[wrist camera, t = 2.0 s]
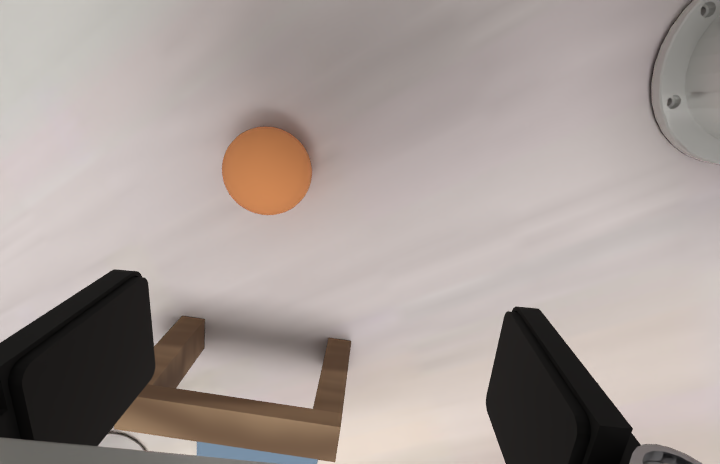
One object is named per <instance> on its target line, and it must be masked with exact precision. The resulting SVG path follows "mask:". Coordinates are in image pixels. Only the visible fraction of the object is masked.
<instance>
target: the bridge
mask: <svg viewBox="0 0 720 464" xmlns="http://www.w3.org/2000/svg"><path fill="white" fill-rule="evenodd" d="M204 333H205V319H200V318H193V317H186V316H182V317H181V318H180V319H179V320H178V321H177V322H176V323H175V324H174V325H173V327H172V328H171V329H170V330H169V331H168V332H167V333H166V334H165V335H164V336H163V337H162V339H161V340H160V341H159V342H158V343H157V344H156V345H155V346H154V354H155V372H154V375H153V377H152V379H151V380H150V382H149V383H148V384H147V385H146V386H145V388H144V389H143V390H142V391H141V393H140V394H139V395H138V396H137V398H136V399H135V400H134V401H133V403H132V404H131V405H130V406H129V408H128V409H127V410H126V411H125V413H124V414H123V415H122V416H121V418H120V419H119V420H118V421H117V423H116V424H115V425H114V429H118V430H124V431H131V432H138V433H144V434H151V435H158V436H164V437H171V438H177V439H184V440H191V441H197V442H204V443H211V444H217V445H224V446H231V447H237V448H244V449H251V450H257V451H264V452H271V453H277V454H284V455H291V456H297V457H304V458H311V459H317V460H324V461H331V462H335V459H336V453H337V447H338V440H339V434H340V427H341V419H342V411H343V403H344V395H345V387H346V379H347V371H348V363H349V355H350V347H351V341H347V340H340V339H334V338H328V343H327V347H326V352H325V357H324V361H323V366H322V370H321V375H320V379H319V384H318V388H317V393H316V398H315V402H314V407H313V409H309V408H302V407H296V406H289V405H282V404H276V403H269V402H262V401H256V400H249V399H242V398H236V397H229V396H222V395H216V394H209V393H202V392H196V391H189V390H182V389H176V387H177V386H178V385H179V383H180V382H181V380H182V379H183V377H184V376H185V375H186V373H187V372H188V370H189V369H190V368H191V366H192V365H193V363H194V362H195V361H196V359H197V358H198V356H199V355H200V353H201V352H202V351H203V349H204Z"/></svg>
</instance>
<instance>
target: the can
mask: <svg viewBox="0 0 720 464" xmlns="http://www.w3.org/2000/svg"><path fill="white" fill-rule="evenodd" d="M98 446H100V447H111V448H122V449H133V450H143V451H145V450H144V448H143V447H142V446H141V445H140V444H139V443H138V442H137V441H135V440H134V439H132V438H130V437H128V436H125V435H122V434H116V433H109V434H107V435H106V436H105V438H104V439H103V440H102V441H101V443H100V444H99V445H98Z"/></svg>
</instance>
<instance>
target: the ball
mask: <svg viewBox="0 0 720 464" xmlns="http://www.w3.org/2000/svg"><path fill="white" fill-rule="evenodd" d="M222 175H223V180H224V184H225V186H226V188H227V190H228V192H229V194H230V195H231V197H232V198H233V199H234V200H235V201H236V202H237V203H238V204H239V205H240V206H242V207H243V208H245V209H247V210H249V211H251V212H254V213H257V214H262V215H275V214H280V213H283V212H286V211H288V210H290V209H292V208H293V207H295V206H296V205H297V204H298V203H299V202H300V201H301V200H302V199H303V198H304V196H305V195H306V193H307V191H308V189H309V186H310V183H311V177H312V169H311V162H310V159H309V156H308V154H307V152H306V150H305V148H304V147H303V145H302V144H301V143H300V142H299V141H298V140H297V139H296V138H295V137H294V136H292V135H291V134H289V133H288V132H286V131H284V130H281V129H278V128H274V127H257V128H253V129H250V130H247V131H245V132H244V133H242V134H240V135H239V136H238V137H236V138H235V139H234V140H233V141H232V143H231V144H230V145H229V147H228V149H227V150H226V153H225V155H224V159H223V164H222Z"/></svg>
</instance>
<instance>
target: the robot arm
mask: <svg viewBox="0 0 720 464" xmlns="http://www.w3.org/2000/svg"><path fill="white" fill-rule="evenodd" d="M651 90H652V105H653V109H654V114H655V118H656V120H657V122H658V124H659V127H660V129H661V131H662V133H663V134H664V135H665V136H666V138H667V139H668V140H669V141H670V142H671V144H672V145H673V146H675V147H676V148H677V149H679V150H680V151H681V152H683V153H684V154H685V155H688V156H690V157H692V158H695V159H697V160H699V161H704V162H708V163H712V164H717V165H720V0H693V1H692V2H691V3H690V4H689V5H688V6H687V7H686V8H685V9H684V11H683V12H682V13H681V15H680V16H679V17H678V19H677V20H676V21H675V23H674V24H673V25H672V27H671V29H670V30H669V32H668V34H667V36H666V38H665V40H664V42H663V43H662V45H661V48H660V51H659V54H658V57H657V59H656V62H655V65H654V71H653V77H652V83H651ZM667 100H668V103H667ZM154 372H155V354H154V343H153V332H152V321H151V310H150V300H149V289H148V282H147V280H146V278H142V276H141V274H140V273H139V272H137V271H126V270H112V271H110V272H109V273H107V274H106V275H104V276H103V277H101V278H100V279H98V280H97V281H95V282H93V283H92V284H90V285H89V286H87V287H86V288H84V289H83V290H81V291H80V292H78V293H76V294H75V295H73V296H72V297H70V298H69V299H67V300H66V301H64V302H63V303H61V304H60V305H58V306H56V307H55V308H53V309H52V310H50V311H49V312H47V313H46V314H44V315H43V316H41V317H39V318H38V319H36V320H35V321H33V322H32V323H30V324H29V325H27V326H26V327H24V328H22V329H21V330H19V331H18V332H16V333H15V334H13V335H12V336H10V337H9V338H7V339H6V340H4V341H2V342H1V343H0V464H277V463H267V462H256V461H246V460H236V459H226V458H215V457H205V456H195V455H184V454H174V453H164V452H154V451H143V450H133V449H122V448H111V447H100V446H98V445H99V444H100V443H101V441H102V440H103V439H104V438H105V436H106V435H107V434H108V433H109V431H110V430H111V429H112V428H113V426H114V425H115V424H116V423H117V421H118V420H119V419H120V418H121V416H122V415H123V414H124V413H125V411H126V410H127V409H128V408H129V406H130V405H131V404H132V403H133V401H134V400H135V399H136V398H137V396H138V395H139V394H140V393H141V391H142V390H143V389H144V388H145V386H146V385H147V384H148V383H149V382H150V380H151V379H152V377H153V375H154ZM486 408H487V412H488V415H489V418H490V421H491V423H492V426H493V429H494V432H495V435H496V437H497V440H498V443H499V446H500V449H501V451H502V454H503V457H504V460H505V463H506V464H702V463H700V462H699V461H697V460H695V459H694V458H692V457H690V456H688V455H687V454H684V453H682V452H680V451H677V450H675V449H672V448H670V447H666V446H661V445H657V444H644V445H640V443H639V442H638V441H637V440H636V438H635V437H634V436H633V434H632V433H631V432H632V430H633V428H632V427H631V426H630V424H629V423H628V422H627V421H626V419H625V418H624V417H623V415H622V414H621V413H620V412H619V410H618V409H617V408H616V407H615V405H614V404H613V403H612V401H611V400H610V399H609V398H608V396H607V395H606V394H605V392H604V391H603V390H602V389H601V387H600V386H599V385H598V383H597V382H596V381H595V380H594V378H593V377H592V376H591V375H590V373H589V372H588V371H587V369H586V368H585V367H584V366H583V364H582V363H581V362H580V360H579V359H578V358H577V357H576V355H575V354H574V353H573V351H572V350H571V349H570V348H569V346H568V345H567V344H566V343H565V341H564V340H563V339H562V337H561V336H560V335H559V334H558V332H557V331H556V330H555V328H554V327H553V326H552V325H551V323H550V322H549V321H548V319H547V318H546V317H545V316H544V314H543V313H542V312H541V311H540V310H539V309H536V308H525V307H514V308H513V310H512V312H506V314H505V316H504V320H503V325H502V329H501V333H500V338H499V342H498V347H497V351H496V356H495V360H494V365H493V369H492V374H491V378H490V382H489V387H488V391H487V396H486Z"/></svg>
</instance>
